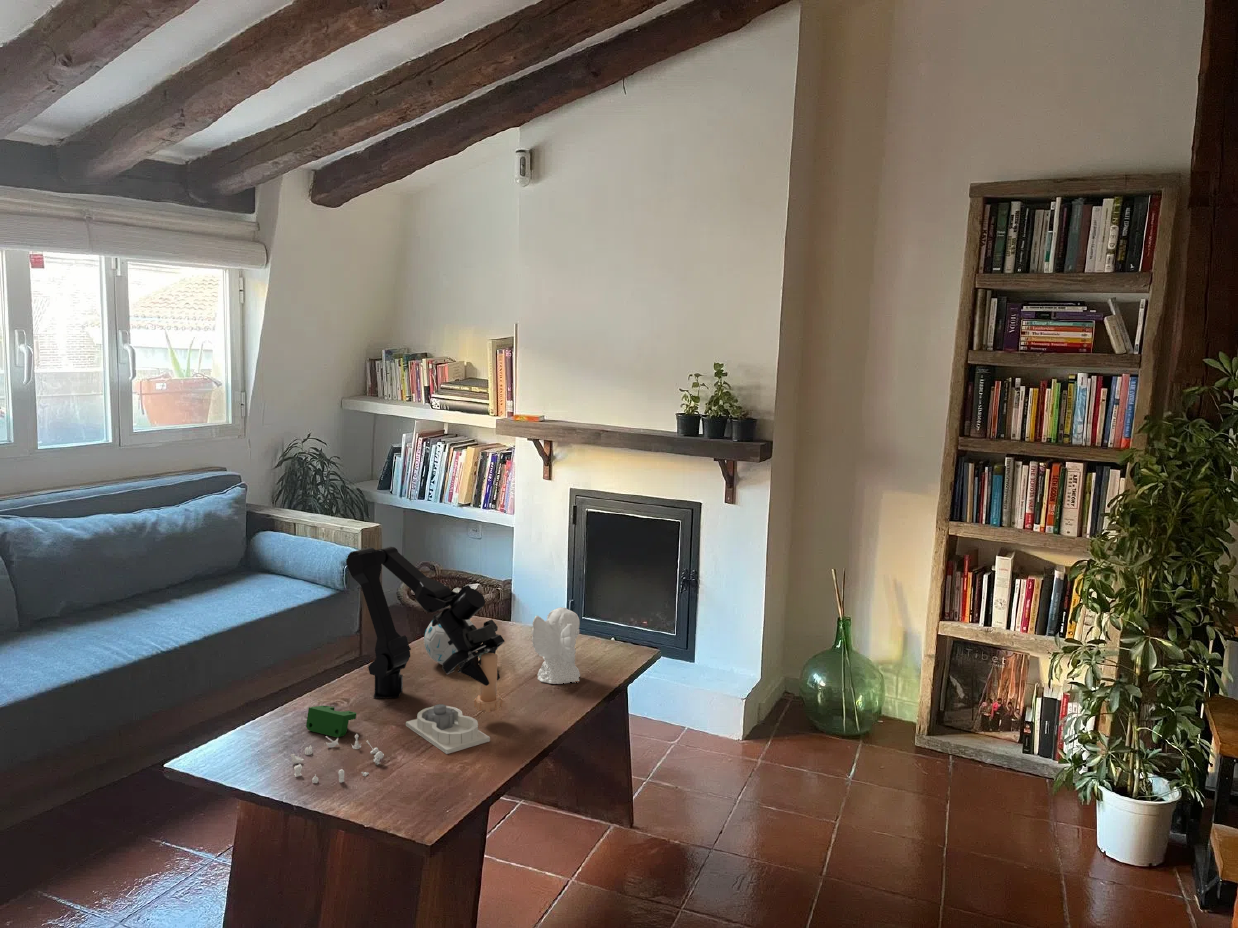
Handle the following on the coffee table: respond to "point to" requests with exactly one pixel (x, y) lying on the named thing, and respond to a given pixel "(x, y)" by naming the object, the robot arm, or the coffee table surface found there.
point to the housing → (447, 728)
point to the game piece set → (309, 749)
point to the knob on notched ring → (488, 693)
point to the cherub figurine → (557, 646)
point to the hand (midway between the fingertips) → (493, 681)
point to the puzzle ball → (439, 643)
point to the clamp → (329, 720)
